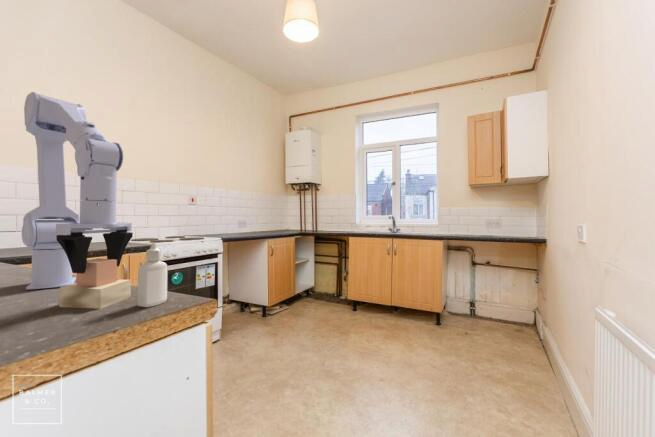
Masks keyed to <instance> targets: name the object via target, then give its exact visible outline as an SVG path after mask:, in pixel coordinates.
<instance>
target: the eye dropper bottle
mask: <svg viewBox="0 0 655 437" xmlns="http://www.w3.org/2000/svg"><path fill="white" fill-rule="evenodd" d="M161 252H162V251H161V249H159V248H158V247H157V242H153V243H152V242H151V246H150V247H149V249H146V252H145V253H146V257H145V258H146V259H145V260H146V262H144V263H142V264H141V265H139V267H138V270H137V296H136V297H137V299H136V300H137V301H136V304H137V307H139V308H152V307H156V306H158V305H161V304H163V303H165V302H167V299H168V264H167V263H166V262H164V261H161V259H162V258H161Z"/></svg>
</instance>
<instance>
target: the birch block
mask: <svg viewBox="0 0 655 437" xmlns="http://www.w3.org/2000/svg"><path fill="white" fill-rule="evenodd" d="M131 292H132V280H131V279H121V278H119V279H117V281H116V282H112V283H108V284H104V285H100V286H83V285H77V282H74V284H71V285H67V286H63V287H59V296H58V297H59V301H58V302H59V306H58V307H59V308H75V309H76V308H77V309H79V308H80V309H99V310H100V309H103V308H106V307H109V306H111V305H114V304H117V303H119V302H121V301H124V300H127V299H130V298H131V297H132V296H131ZM129 297H130V298H129Z"/></svg>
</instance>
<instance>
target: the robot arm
mask: <svg viewBox="0 0 655 437" xmlns="http://www.w3.org/2000/svg"><path fill="white" fill-rule="evenodd" d="M23 107H24V108H23V109H24V110H23V112H24V114H23V115H24V126H25V130H26V132H28V133H29V134H31V135H32V136H34V138H35V144H36V156H37V157H36V158H37V159H36V160H37V176H38V177H37V178H38V179H37V180H38V183H37V184H38V200H39V201H38V202H39V204H38V205H39V206H37V207H35V208H33V209H32V210H30V211H28V212H26V213H25V215H24V216H23V219H22V228H21V240H22V243H23V244H24V246H26V247H27V248H29V249H31V283H30V284H28V285H27V286H26V287H25V290H27V291H28V290H40V289H50V288H51V289H52V288H60V287H63V286H67V285H71V284H75V283H76V282H75V281H77V276H73V274H77V273H80V274H81V273H85V271H86V264H87V260H88V251H89V249H90V246H91V243H92V241H93V237H92V236H86V235H85V234H100V233H101V234H102V233H103V234H102V236H103V239H104V243H105V247H106V255H107V256H106V259H115V260H117V268H118V267H120V264H121V261H122V258H123V255H124V252H125V250H126V247H127V246H128V244H129V242H130V241H131V239H132V238H133V234H134V233H133V232H132V222H125V221H124V222H116V220H117V183H118V182H117V181H118V180H117V178H118V176H117V175H118V171H119V170H120V169H121V168H122V166H123V162H124V151H123V148H122V146H121V144H120V143H118V142H110V141H108V139H107V138H106V137H105V136H104V135H103V134H102V133H101V131H100V130H99V128H97V126H96V124H95V123H94V122H92V121H88V120H87V112H86V109H85V108H84V106H83V105H82V104H80V103H74V102H69V101H66V100H62V99H58V98H54V97H51V96H47V95H44V94H39V93H37V92H35V91H31V92H29V93H28V94H27V96H26V98H25V101H24V106H23ZM66 142H69V143H70V145H71V146H72V147H73V149H74V160H75V164H76V168H77V169H76V170H77V172H76V173H77V176H78V177H79V178H80V183H79V184H80V187H79V190H80V191H79V213H78V212H76V211H75V210H73V209H71V208H69V206H67V192H66V173H65V172H66V171H65V153H64V144H65V143H66ZM94 229H97V230H94Z"/></svg>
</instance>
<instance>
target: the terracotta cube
mask: <svg viewBox="0 0 655 437" xmlns="http://www.w3.org/2000/svg"><path fill="white" fill-rule="evenodd" d="M117 274H118V267H117V260H115V259H107V258H93V259H87V264H86V271H85V273H81V274H80V273H76V283H77V285H83V286H100V285H104V284H108V283H112V282H116V281H117V278H118V277H117Z"/></svg>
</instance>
